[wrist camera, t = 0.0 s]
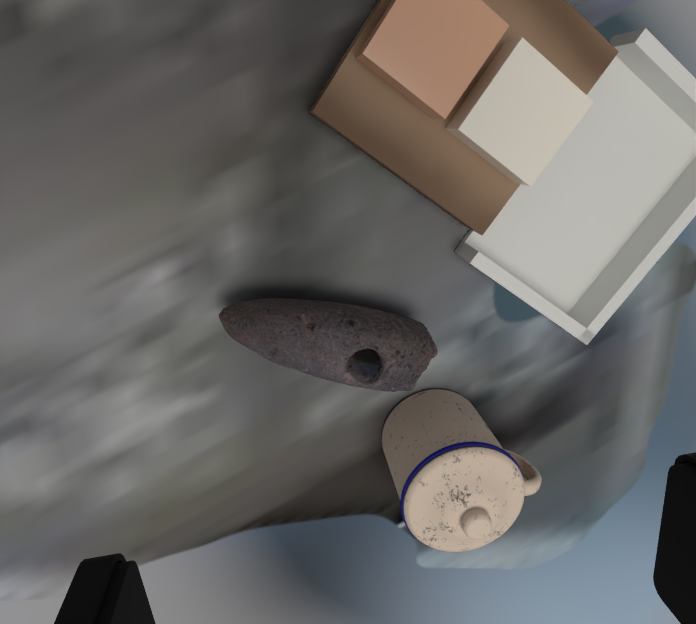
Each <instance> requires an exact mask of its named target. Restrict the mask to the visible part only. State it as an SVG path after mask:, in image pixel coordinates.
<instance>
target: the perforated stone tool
mask: <svg viewBox="0 0 696 624" xmlns="http://www.w3.org/2000/svg"><path fill="white" fill-rule="evenodd" d="M219 318H220V321H221V323H222V325H223V327H224V329H225V330H226V331H227V333H228V334H229V335H230V336H231V337H232V338H233V339H234V340H236V341H237V342H239V343H240V344H242V345H244V346H246V347H247V348H249V349H251V350H253V351H255V352H257V353H258V354H259V355H261V356H263V357H264V358H266V359H268V360H270V361H272V362H275V363H277V364H279V365H282V366H285V367H288V368H293V369H296V370H298V371H300V372H303V373H306V374H309V375H313V376H316V377H319V378H323V379H326V380H330V381H334V382H338V383H342V384H346V385H350V386H355V387H361V388H368V389H374V390H381V391H392V392H394V391H402V390H403V391H410V390H412V389H413V388H414V386H415V383H416V381H417V380H418V378H419V377H420V376H421V374H422V372H423V371H425V370H426V369H427V366H428V364H429V362H430V360H431V358H434V357H435V356H436V355H437V347H436V345H435V343H434V341H433V340H432V337H431V336H430V334H429V332H428V330H427V328H426V327H425V326H424V325H423V324H422V323H421V322H418V321H415V320H413V319H410V318H407V317H404V316H401V315H397V314H394V313H389V312H385V311H381V310H377V309H372V308H368V307H362V306H357V305H352V304H345V303H338V302H330V301H318V300H303V299H289V298H264V299H254V300H248V301H243V302H239V303H235V304H233V305H230V306H228V307H226V308H225V309H223V310H222V312H221V313H220V315H219Z"/></svg>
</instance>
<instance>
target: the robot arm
mask: <svg viewBox="0 0 696 624" xmlns="http://www.w3.org/2000/svg"><path fill="white" fill-rule="evenodd" d="M653 578H654V579H653V580H654V585H655V588H656V590H657V593H658V595H659V596H660V598H661V599H662V601H663V602H664V603H665V604H666V606H667V607H668V608H669V609H670V611H671V612H672V613H673V614H674V616H675V617H676V618H677V619H678V621H679V622H680V623H681V624H696V453H691V454H684V455H680V456H678V458H677V459H676V460H675V464H674V465H673V466H671V467H670V469H669V472H668V477H667V485H666V492H665V499H664V505H663V512H662V519H661V527H660V533H659V540H658V547H657V554H656V561H655V568H654V576H653ZM54 624H155V621H154V618H153V615H152V611H151V608H150V605H149V601H148V598H147V595H146V592H145V589H144V586H143V582H142V579H141V576H140V573H139V569H138V566H137V564H136V562H135V561H127V562H126V560H125V558H124V556H123V555H122V554H112V555H107V556H101V557H95V558H90V559H84V560H83V561H82V562H81V563H80V565H79V566H78V568H77V571H76V573H75V575H74V578H73V580H72V582H71V585H70V587H69V590H68V592H67V594H66V597H65V599H64V601H63V604H62V606H61V608H60V611H59V613H58V615H57V618H56V621H55V622H54Z"/></svg>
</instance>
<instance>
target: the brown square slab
mask: <svg viewBox="0 0 696 624" xmlns="http://www.w3.org/2000/svg"><path fill="white" fill-rule="evenodd" d="M391 1H392V0H378V1H377V3H376V4H375V6H374V7H373V9H372V11H371V12H370V14H369V15H368V17H367V19H366V20H365V22H364V23H363V25H362V27H361V28H360V30H359V32H358V33H357V35H356V36H355V38H354V40H353V41H352V43H351V44H350V46H349V48H348V49H347V51H346V52H345V54H344V56H343V57H342V59H341V60H340V62H339V64H338V65H337V67H336V68H335V70H334V72H333V73H332V75H331V77H330V78H329V80H328V81H327V83H326V85H325V86H324V88H323V89H322V91H321V93H320V94H319V96H318V97H317V99H316V101H315V102H314V104H313V105H312V107H311V109H310V110H309V112H308V113H310V114H311V115H312V116H314V117H315V118H317V119H318V120H319V121H321V122H322V123H324V124H325V125H326V126H328V127H329V128H330V129H332V130H333V131H335V132H336V133H337V134H339V135H340V136H341V137H343V138H344V139H346V140H347V141H348V142H350V143H351V144H353V145H354V146H355V147H357V148H358V149H359V150H361V151H362V152H364V153H365V154H366V155H368V156H369V157H370V158H372V159H373V160H375V161H376V162H377V163H379V164H380V165H382V166H383V167H384V168H386V169H387V170H388V171H390V172H391V173H393V174H394V175H395V176H397V177H398V178H399V179H401V180H402V181H404V182H405V183H406V184H408V185H409V186H411V187H412V188H413V189H415V190H416V191H417V192H419V193H420V194H422V195H423V196H424V197H426V198H427V199H428V200H430V201H431V202H433V203H434V204H435V205H437V206H438V207H440V208H441V209H442V210H444V211H445V212H446V213H448V214H449V215H451V216H452V217H453V218H455V219H456V220H457V221H459V222H460V223H462V224H463V225H464V226H466V227H468V228H470V229H471V230H473V231H475V232H477V233H478V234H480V235H483V234H484V233H485V231H486V230H487V229H488V227H489V226H490V225H491V223H492V222H493V221H494V219H495V218H496V217H497V215H498V214H499V213H500V211H501V210H502V209H503V207H504V206H505V204H506V203H507V202H508V200H509V199H510V198H511V196H512V195H513V194H514V192H515V191H516V190H517V188H518V187H519V186H520V184H519V183H515V182H513V181H512V180H510V179H509V178H508V177H506V176H505V175H504V174H503V173H501V172H500V171H499V170H498V169H496V168H495V167H494V166H492V165H491V164H490V163H489V162H487V161H486V160H485V159H484V158H482V157H481V156H480V155H478V154H477V153H476V152H475V151H473V150H472V149H471V148H470V147H468V146H467V145H466V144H464V143H463V142H462V141H461V140H459V139H458V138H457V137H456V136H454V135H453V134H452V133H450V132H449V131H448V130H447V129H445V128H446V127H447V125H448V124H449V122H450V121H451V119H452V118H453V117H454V115H455V114H456V112H457V111H458V109H459V108H460V106H461V105H462V104H463V102H464V101H465V99H466V98H467V96H468V95H469V93H470V92H471V90H472V89H473V88H474V86H475V85H476V83H477V82H478V80H479V79H480V77H481V76H482V74H483V73H484V72H485V70H486V69H487V67H488V66H489V64H490V63H491V61H492V60H493V59H494V57H495V56H496V54H497V53H498V51H499V50H500V48H501V47H502V45H503V44H504V43H505V42H508V41H512V40H515V39H518V38H521V37H523V38H524V39H525V40H526V41H527V42H528V43H529V44H530V45H532V46H533V47H534V48H535V49H536V50H537V51H538V52H539V53H540V54H542V55H543V56H544V57H545V58H546V59H547V60H548V61H549V62H550V63H551V64H553V65H554V66H555V67H556V68H557V69H558V70H559V71H560V72H561V73H563V74H564V75H565V76H566V77H567V78H568V79H569V80H570V81H571V82H572V83H574V84H575V85H576V86H577V87H578V88H579V89H580V90H581V91H582V92H584V93H585V94H586V95H587V94H588V93H589V91H590V90H591V89H592V87H593V86H594V85H595V83H596V82H597V81H598V79H599V78H600V77H601V75H602V74H603V73H604V71H605V70H606V68H607V67H608V66H609V64H610V63H611V62H612V60H613V59H614V58H615V56H616V55H617V54H618V51H617V50H616V49H615V48H614V47H613V46H612V45H611V44H610V43H609V42H608V41H607V40H606V39H605V38H604V37H603V36H602V35H601V34H600V33H599V32H598V31H597V30H596V29H595V28H594V27H593V26H592V25H591V24H590V23H588V22H587V21H586V20H585V19H584V18H583V17H582V16H581V15H580V14H579V13H578V12H577V11H576V10H575V9H574V8H573V7H572V6H571V5H570V4H569V3H568V2H567V1H566V0H482V1H483V2H484V3H485V4H486V5H487V6H488V7H490V8H491V9H492V10H493V11H494V12H495V13H496V14H497V15H498V16H500V17H501V18H502V19H503V20H504V21H505V22H506V23H507V24H508V25H509V27H508V29H507V30H506V32H505V33H504V34H503V36H502V37H501V39H500V40H499V42H498V43H497V45H496V46H495V48H494V49H493V50H492V52H491V53H490V55H489V56H488V58H487V59H486V61H485V62H484V64H483V65H482V67H481V68H480V69H479V71H478V72H477V74H476V75H475V77H474V78H473V80H472V81H471V83H470V84H469V85H468V87H467V88H466V90H465V91H464V93H463V94H462V96H461V97H460V99H459V100H458V101H457V103H456V104H455V106H454V107H453V109H452V110H451V112H450V113H449V115H448V116H447V117H446V119H433V118H431V117H430V116H429V115H428V114H426V113H425V112H424V111H422V110H421V109H420V108H419V107H417V106H416V105H415V104H414V103H412V102H411V101H410V100H408V99H407V98H406V97H405V96H403V95H402V94H401V93H400V92H398V91H397V90H396V89H394V88H393V87H392V86H391V85H389V84H388V83H387V82H386V81H384V80H383V79H382V78H380V77H379V76H378V75H377V74H375V73H374V72H373V71H372V70H370V69H369V68H368V67H366V66H365V65H364V64H363V63H361V62H360V61H359V60H358V59H356V57H357V55H358V54H359V52H360V51H361V49H362V48H363V46H364V44H365V43H366V41H367V40H368V38H369V36H370V35H371V33H372V32H373V30H374V28H375V27H376V25H377V24H378V22H379V20H380V19H381V17H382V16H383V14H384V13H385V11H386V9H387V8H388V6H389V5H390V3H391Z"/></svg>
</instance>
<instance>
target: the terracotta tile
mask: <svg viewBox="0 0 696 624" xmlns="http://www.w3.org/2000/svg"><path fill="white" fill-rule="evenodd" d="M508 27H509V25H508V24H507V23H506V22H505V21H504V20H503V19H502V18H501V17H500V16H498V15H497V14H496V13H495V12H494V11H493V10H492V9H491V8H490V7H488V6H487V5H486V4H485V3H484V2H483V1H482V0H392V1H391V3H390V5H389V6H388V8H387V9H386V11H385V13H384V14H383V16H382V17H381V19H380V20H379V22H378V24H377V25H376V27H375V28H374V30H373V32H372V33H371V35H370V36H369V38H368V40H367V41H366V43H365V44H364V46H363V48H362V49H361V51H360V52H359V54H358V55H357V57H356V59H358V60H359V61H360V62H361V63H363V64H364V65H365V66H366V67H368V68H369V69H370V70H372V71H373V72H374V73H375V74H377V75H378V76H379V77H380V78H382V79H383V80H384V81H386V82H387V83H388V84H389V85H391V86H392V87H393V88H394V89H396V90H397V91H398V92H400V93H401V94H402V95H403V96H405V97H406V98H407V99H408V100H410V101H411V102H412V103H414V104H415V105H416V106H417V107H419V108H420V109H421V110H422V111H424V112H425V113H426V114H428V115H429V116H430V117H431V118H433V119H446V117H447V116H448V115H449V113H450V112H451V110H452V109H453V107H454V106H455V104H456V103H457V101H458V100H459V99H460V97H461V96H462V94H463V93H464V91H465V90H466V88H467V87H468V85H469V84H470V83H471V81H472V80H473V78H474V77H475V75H476V74H477V72H478V71H479V69H480V68H481V67H482V65H483V64H484V62H485V61H486V59H487V58H488V56H489V55H490V53H491V52H492V50H493V49H494V48H495V46H496V45H497V43H498V42H499V40H500V39H501V37H502V36H503V34H504V33H505V32H506V30H507V29H508Z"/></svg>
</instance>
